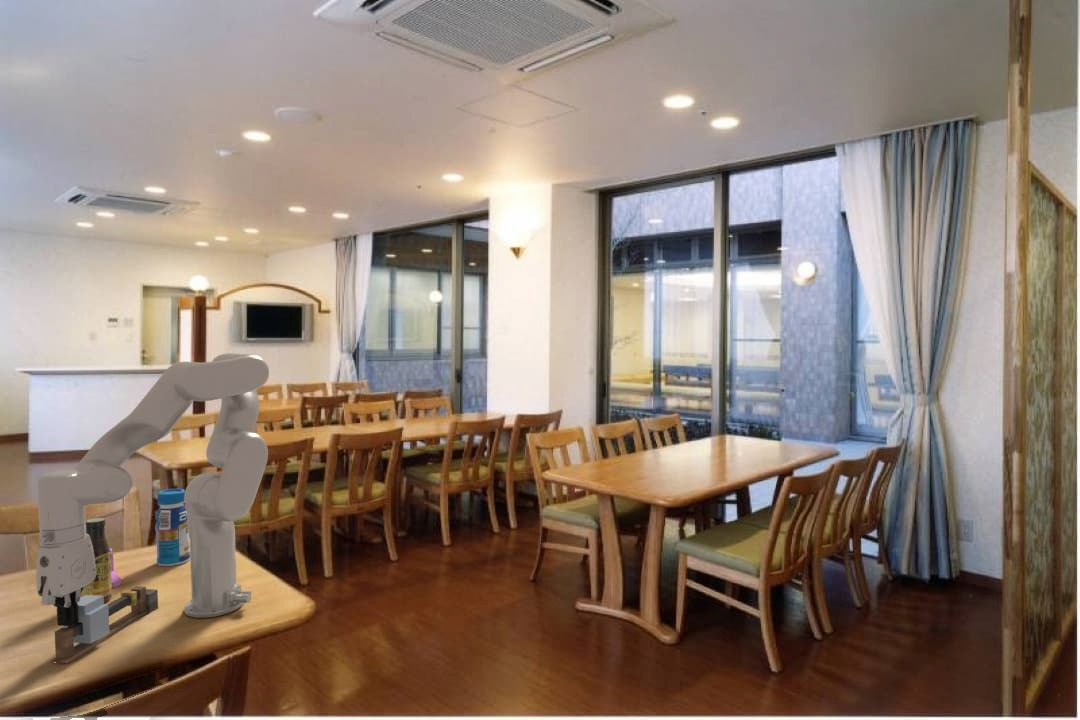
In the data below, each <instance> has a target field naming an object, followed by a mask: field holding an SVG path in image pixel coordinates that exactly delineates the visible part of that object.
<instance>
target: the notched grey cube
mask: <svg viewBox="0 0 1080 720" xmlns="http://www.w3.org/2000/svg"><path fill="white" fill-rule="evenodd" d="M108 604H109V603H107V604H106V603H104V596H98V595H85V596H83V597H80V601H79V602H78V619H79V621H78V622H81V623H83V632H82V633H80V634H79V635H77V636H75V637H74V644H79V643H88V644H91V643H93V642H95V641H96V640H98V639H99V638H101V637H103V636H104V635H106V634H108V633H109V625H110V616H109V609H108ZM66 627H68V626H62V628H66Z"/></svg>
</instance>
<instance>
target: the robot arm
mask: <svg viewBox="0 0 1080 720" xmlns="http://www.w3.org/2000/svg"><path fill="white" fill-rule="evenodd" d="M268 365H269V364H267V362H266V361H265V360H264V359H263V358H262V357H260V356H259V355H255V354H247V353H245V354H244V353H234V352H232V353H230V352H229V353H222V354H218V355H217V356H216V357H214V358H213V359H212V361H207V362H199V361H197V362H196V361H195V362H194V361H178V362H175V363H173V364H171V365H170V366H169V367H168V368H167V369H166V370H165V371H164V372H163V373H162V374H161V376H160V377H159V378H158V380H156V382H155V383H154V385H152V387H151V388H150V390H148V392H147V393H146V394H145V396H144V397H143V398H142V399H141V401H140V402H139V403H137V405H136V406H135V408H134V409H133V410H132V411H131V413H129V414H128V415H127V416H126V417H125V418H123V419H122V420H121V421H119V422H118V423H117V424H116V425H115V426H113V427H112V428H111V429H109V430H108V431H106V432H105V433H103V435H102V436H101V437H100V438H98V440H97V441H96V442H95V443H93V445H92V446H91V447H90V449H89V450H88V451H87V452H86V454H85V455H84V456H83V457H82V458H81V460H79V462H78V463H77V465H76V467H75V469H62V470H61V469H60V470H55V471H53V470H52V471H50V472H45V473H44V474H41V475H40V476H39V477H38V479H37V482H36V489H37V507H38V510H37V511H38V527H39V537H38V539H37V540H38V542H39V545H40V546H39V547H38V551H37V557H36V571H35V572H36V574H35V575H36V576H35V577H36V584H35V585H36V592H37V595H38V596H39V597H41V603H40V605H42V606H51V605H53V607H54V608H56V620H57V622H56V624H57V626H60V627H61V626H62V627H63V626H72V625H74V624H76V623H78V621H79V619H78V602H79V601H80V598H81V597H80V596H81V592H82V590H83V589H84V588H85V587H87V586H88V585H89V583H91V582H92V581H93V580H94V579H95V577H96V566H95V557H94V551H93V546H92V542H91V539H90V536H89V534H87V533H86V520H87V516H86V515H87V514H86V513H87V512H86V505H96V504H108V503H109V504H111V503H114V502H117V501H120V500H122V499H123V498H126V496H127V495H128V494H129V493H130V491H131V490H132V488H133V478H132V475H131V474H130V472H129V471H128V470H127V469H125V468H124V467H122V466H123V464H124V463H125V462H126V461H127V460H128V459H129V458H130V457H131V456H132V455H133V454H135V453H136V452H137V451H138V450H140V449H142V448H143V447H145V446H148V445H149V444H153V443H155V442H158V441H160V440H161V439H163V438H165V437H167V436H168V435H169V434H170V433H171V432H172V430H173V429H174V427H175V426H176V424H177V423H178V422H179V420H181V418H182V417H183V415H185V413H186V412H187V410H188V409H190V407H191V405H192V404H193V402H194V401H195V402H208V401H214V400H221V405H220V409H219V414H218V416H217V420H216V422H215V425H214V427H213V431H212V432H211V436H210V438H209V441H208V444H207V447H206V451H205V454H206V455H205V456H206V459H207V461H208V462H209V463H210V464H211V465H212V466H214V467H216V468H219V469H222V470H221V471H222V472H221V474H220V473H216V472H215V473H214V472H206V473H205V472H204V473H201V474H199V475H197V476H195V477H193V479H191V480H190V481H189V483H188V485H187V486H186V488H185V496H184V500H185V502H184V505H185V508H186V512H187V518H188V522H189V549H190V559H189V561H190V585H191V586H190V587H191V599H190V600H189V601H187V603H185V606H184V614H185V615H187V616H188V617H192V618H197V619H199V618H200V619H204V618H206V619H208V618H214V617H220V616H223V615H226V614H227V615H228V614H229V613H232V612H234V611H237V610H238V609H239V608H241V607H242V606H243V605H244V604H249V603H250V602H251V600H252V591H251V590H242V585H241V583H237V567H236V565H237V564H236V563H237V562H236V560H237V559H236V528H235V521H238V520H240V519H242V518H243V517H245V516H246V514H247V513H248V512H249V511H250V509H251V507H252V506H253V504H254V502H255V499H256V496H257V493H258V490H259V487H260V485H261V481H262V479H263V476H264V473H265V470H266V466H267V463H268V459H269V449H268V446H267V443H266V441H265V439H264V438H263V437H262V436H260V435H259V434H257V433H255V432H254V431H255V428H256V424H257V422H258V418H259V414H260V408H261V407H260V398H259V395H258V391H257V390H259V389H261V388H262V387H263V386H264V385H265V384H266V383H267V381H268V379H269V378H270V377H269V376H270V369H269V366H268Z"/></svg>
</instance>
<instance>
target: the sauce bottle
mask: <svg viewBox="0 0 1080 720" xmlns="http://www.w3.org/2000/svg"><path fill="white" fill-rule="evenodd" d="M105 527H106V518H104V517H97V518H96V517H95V518H91V519H86V533H87V534H89V536H90V539H91V542H92V546H93V551H94V557H95V566H96V577H95V579H94V580H93V581H92V582H91V583H89V585H88V586H87V587H85V588H84V589H83V590H82V592H81V596H80V598H81V597H83V596H85V595H98V596H104V604H106V603H107V602H108V601H110V600H111V598H112V588H111V551H110V549H109V548H110V547H109V544H108V541H107V539H106V534H105V533H106V532H105Z"/></svg>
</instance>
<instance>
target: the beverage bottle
mask: <svg viewBox="0 0 1080 720" xmlns="http://www.w3.org/2000/svg"><path fill="white" fill-rule="evenodd" d="M185 491H186V489H183V488H169V489H164V490H160V491H158V493H157V494H156V495H157V505H158V506H159V507H158V509H157V510H156V514H155V517H154V518H155V520H156V523H155V525H154V530H155V536H156V537H155V538H156V539H155V540H156V564H157V565H158V566H160V567H174V566H179V565H182V564H185V563H187V562H188V561H190V532H189V522H188V517H187V512H186V508H185V500H184V496H185Z"/></svg>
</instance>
